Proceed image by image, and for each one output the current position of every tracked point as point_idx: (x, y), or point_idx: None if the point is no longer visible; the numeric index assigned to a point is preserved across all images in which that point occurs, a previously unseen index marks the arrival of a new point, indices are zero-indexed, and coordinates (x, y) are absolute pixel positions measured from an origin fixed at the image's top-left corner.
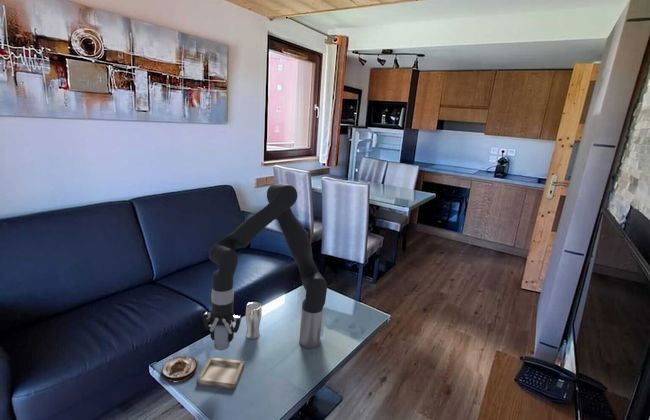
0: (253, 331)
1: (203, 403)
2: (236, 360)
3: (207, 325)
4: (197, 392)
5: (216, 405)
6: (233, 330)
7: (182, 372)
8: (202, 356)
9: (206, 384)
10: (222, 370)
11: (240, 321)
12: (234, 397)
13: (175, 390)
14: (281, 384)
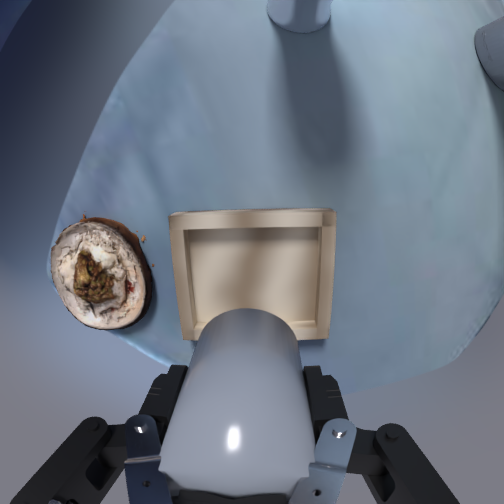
0: (315, 11)
1: None
2: (299, 213)
3: (111, 483)
4: None
5: None
6: (357, 467)
7: (118, 301)
8: (134, 185)
9: None
10: (251, 259)
11: (443, 493)
12: (331, 352)
13: (142, 351)
14: (459, 273)
